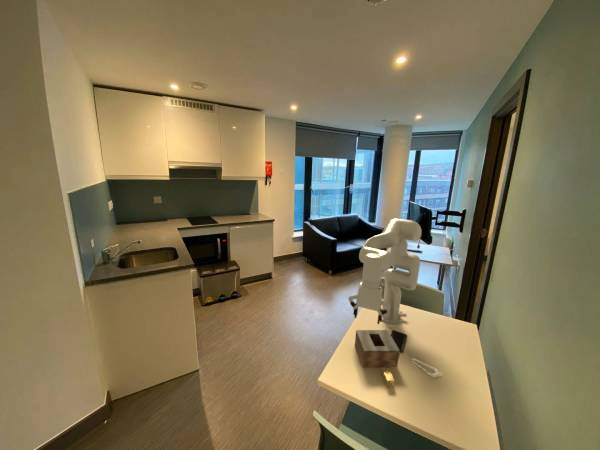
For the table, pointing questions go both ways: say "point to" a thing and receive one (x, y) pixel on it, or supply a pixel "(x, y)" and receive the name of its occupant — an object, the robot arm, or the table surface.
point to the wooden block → (387, 378)
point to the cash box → (376, 349)
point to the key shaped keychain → (427, 367)
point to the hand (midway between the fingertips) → (366, 319)
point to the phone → (399, 339)
